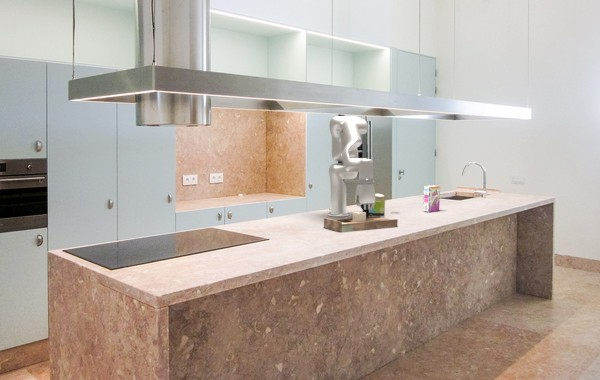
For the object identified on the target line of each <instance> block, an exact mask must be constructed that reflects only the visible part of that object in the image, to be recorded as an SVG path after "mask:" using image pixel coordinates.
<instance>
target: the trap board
mask: <svg viewBox="0 0 600 380" xmlns="http://www.w3.org/2000/svg"><path fill="white" fill-rule="evenodd" d="M323 228H324V229H328V230H331V231H334V232H338V233H345V232H346V233H347V232H358V231H369V230H376V229H378V228H379V229H387V228H389V229H390V228H398V219H395V218H394V219H389V218H386V217H385V218H381V216H371V217H366V221H361V222H357V221H353V217H351V218H350V217H349V218H337V219H335V218H334V219H333V218H332V219H331V218H327V217H324V218H323Z"/></svg>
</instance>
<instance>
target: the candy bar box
mask: <svg viewBox="0 0 600 380" xmlns="http://www.w3.org/2000/svg"><path fill="white" fill-rule="evenodd" d="M440 190H441V186H440V185H424V186H423V199H422V201H423V203H422V207H423V208H422V212H424V213H434V212H439V211H440V201H441V199H440V196H441V191H440Z"/></svg>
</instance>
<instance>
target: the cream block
mask: <svg viewBox="0 0 600 380" xmlns="http://www.w3.org/2000/svg"><path fill="white" fill-rule="evenodd" d="M352 218H353V221H357V222H361V221H366V212H363V211H352Z"/></svg>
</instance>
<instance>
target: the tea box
mask: <svg viewBox="0 0 600 380" xmlns="http://www.w3.org/2000/svg"><path fill="white" fill-rule="evenodd" d="M385 204H386V196H385V195H384V194H382V193H375V205H373V206H371V207H370V209H369V217H371V216H381V218H385V219H386V217H385V213H386V212H385V211H386V210H385V209H386V208H385Z"/></svg>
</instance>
